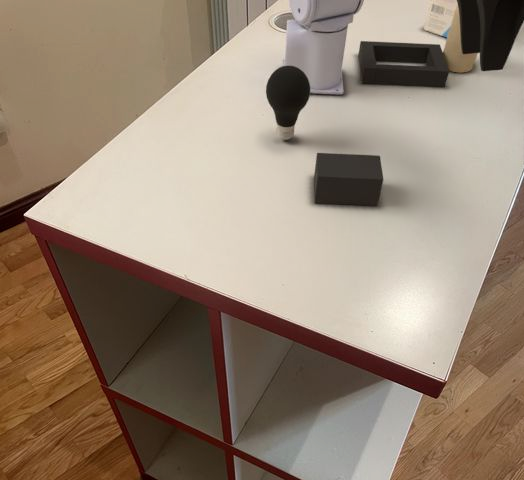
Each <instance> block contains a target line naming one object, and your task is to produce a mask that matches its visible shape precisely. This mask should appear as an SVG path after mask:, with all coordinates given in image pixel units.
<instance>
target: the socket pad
mask: <svg viewBox="0 0 524 480" xmlns="http://www.w3.org/2000/svg"><path fill="white" fill-rule="evenodd" d="M357 57H358V58H357V59H358V65H359V71H360V81H361V84H366V85H367V84H369V85H387V86H388V85H389V86H390V85H391V86H409V87H410V86H413V87H432V88H445V87H446V84H447V80H448V78H449V74H450V71H449V69H448V66H447V63H446V61H445V58H444V55H443V50H442V47H441V44H439V43H438V44H437V43H436V44H435V43H418V42H417V43H415V42H414V43H413V42H395V41H394V42H391V41H372V40H371V41H370V40H369V41H367V40H361V41H360V42H359V49H358V54H357ZM377 62H389V63H390V62H391V63H393V62H394V63H415V64H425V65H408V64H407V65H406V64H386V63H385V64H384V63H377Z"/></svg>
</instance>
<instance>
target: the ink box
mask: <svg viewBox="0 0 524 480" xmlns="http://www.w3.org/2000/svg"><path fill="white" fill-rule="evenodd" d="M457 5H458V3H457V0H430V2H429V7H428V10H427V15H426V18H425V23H424V27H423V30H424V31H426V32H429V33H431V34H434V35H436V36H437V35H438V36H441V37H443V38H446V39H447V37H448V33H449V30H450V26H451V23H452V20H453V16H454V13H455V9H456V6H457Z"/></svg>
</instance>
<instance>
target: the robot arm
mask: <svg viewBox="0 0 524 480" xmlns="http://www.w3.org/2000/svg"><path fill="white" fill-rule="evenodd" d="M288 2H289V3H288V4H289V8H290V11H291V14H292V16H293V18H294V19H287V20H286V31H285V32H286V35H285V52H284V59H282V66H295V67H297V68H299V69H300V70H302V71H303V72H304V73H305V75H306V76H307V78H308V80H309V83H310V94H321V95H322V94H323V95H343V94H344V81H343V72H342V71H343V70H342V69H343V62H344V57H345V49H346V41H347V36H348V28H349V24H352V23H353V22H354V15H356V14H358V13H359V12H360V11H361V9H362V7H363V5H364V2H365V0H288ZM457 3H458V9H459V16H460V34H461V49H462V53H463V54H472V53H477V54H479V66H480V67H479V68H480V71H482V72H492V71H501V70H504V68H505V65H506V63H507V62H508V59H509V56H510V54H511V51H512V48H513V47H514V44H515V42H516V39H517V37H518V34H519V32H520V30H521V28H522V27H523V24H524V0H457ZM282 66H281V67H282Z"/></svg>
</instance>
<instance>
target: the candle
mask: <svg viewBox="0 0 524 480" xmlns="http://www.w3.org/2000/svg"><path fill="white" fill-rule="evenodd" d="M442 52H443V55H444V58H445V61H446V63H447V66H448V69H449V72H453V73H460V74H461V73H468V72H470V71H471V70H472V69H473V67H474V66H475V65H474V64H475V62H476V59H477V56H478V53H472V54H463V53H462V49H461V34H460V16H459V9H458V5H457V6H456V9H455V13H454V16H453V20H452V23H451V26H450V30H449V33H448V37H447V38H446V40H445V44H444V47H443V50H442Z"/></svg>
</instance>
